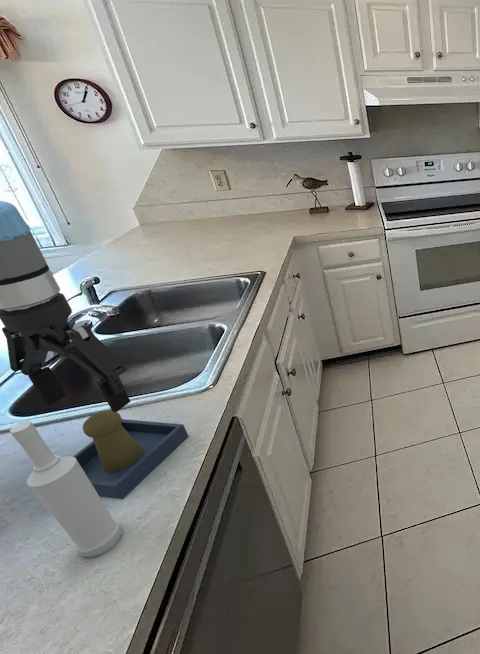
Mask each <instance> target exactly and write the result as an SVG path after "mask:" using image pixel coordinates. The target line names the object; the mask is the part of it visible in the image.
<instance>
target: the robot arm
mask: <svg viewBox="0 0 480 654" xmlns="http://www.w3.org/2000/svg"><path fill="white" fill-rule="evenodd" d="M33 235H34V234H32V231H31V227H30V225H29V224H28V223H27V222H26V220H25V219H24V217H23V216H22V214H21V213H20V211H19V210H18V208H17V207H16V205H14V204H13V203H11V202H8V201H4V200H0V321H1V323H2V324H3V326H4V327H2V328H1V331H2V333H3V335H4V337H5V338H6V345H7V354H8V359H9V360H8V361H9V367H10V369H11V371H13V372H14V373H15V372H19V371H20V372H21V373H22V375H24V376H28V378H29V380H30V382H31V383H32V384H33V385H32V386H34V388H35V390H36V391H37V393H38V394H39V396H40V398H41V399H42V400H43V402H44V404H45V405H46V406H48V407H49V406H50V407H51V406H52V405H53V404H55V403H57V402H58V401H60V400H61V399H63V398H65V397H67V394H66V392H65V390H64V389H63V387H62V386H61V384H60V382H59V381H58V379H57V377H56V376H55V374H54V373H53V371H52V369H51V367H50V366H47V365H49V363H48V362H47V361H46V360H47V356H48V353H49V352H51V353H56V354H58V355H59V356H61V357H62V358H69V359H71V360H72V361H73V362H74V363H76V364H77V365H79V366H80V367H81V368H83V369H84V370H85V371H86V372H88V373H90V374H91V375H92V376H94V377H95V378H96V379H98V381H96V385H97V386H98V388H99V390H100V392H101V393H102V396H103V397H104V399H105V400H106V402H107V405H108V406H109V408H110V410H112V412H119V411H120V410H122V409H123V408H124V407H125V406H127V405H128V404H130V403H131V402H132V400H131V399H130V397H129V395H128V393H127V391H126V389H125V386H124V384H123V382H122V380H121V378H120V376H121V375H123V374H124V373H125V372H127V371H128V368H127V366H126V365H125V364H123V362H122V361H121V360H120V359H119V358H118V357H117V356H116V355H115V354H114V353H113V352H112V351H111V350H110V349H109V348H108V347H107V346H106V345H105V344H104V343H103V342H102V341H101V340H100V339H99V338H98V337H97V336H96V335H95V333H94V331H93V330H92V328H91V327H90V326H89V325H88V324H82V325H80V326H79V327H74V326H72V325H71V324H70V322H69V318H70V316H71V315H72V313H73V309H72V308H71V306H70V304H69V301H68V300H67V298H66V295H65V294H63V293H62V292H60V291H61V288H60V286H59V284H58V282H57V280H56V279H55V277H54V272H53V271H51V269H50V266H49V265H48V263H47V260H46V258H45V256H44V255H43V252H42V251H41V249H40V247H39V245H38V243H37V241H36V239H35V237H34V236H33Z"/></svg>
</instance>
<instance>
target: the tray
mask: <svg viewBox="0 0 480 654" xmlns="http://www.w3.org/2000/svg"><path fill="white" fill-rule="evenodd" d="M121 419H122V422H121V425H122V426H123V427H124V429H125V430H126V431H127V432H128V433H129V434H130V435H131V436H132V438H133V439H134V440H135V441H136V442H137V443H138V444H139V446H140V447H141V448H142V450H143V454H142V455H141V457H140V458H139V459H138V460H137V461H136V462H135V463H133V464H132V465H130V466H129V467H127V468H125V469H122V470H120V471H116V472H106V471H104V469H103V466H102V463H101V460H100V458H99V455H98V452H97V449H96V446H95V443H94V440H92V441H91V442H90V443H88V444H87V445H86V446H85V447H83V448H82V449H81V450H79V451H78V452H77V453H75V454H74V455H73V456H72V457H75V458H76V459H77V461H78V463H79V464H80V466H81V467H82V469H83V471H84V472H85V474H86V476H87V477H88V479H89V480H90V482H91V484H92V485H93V487H94V489H95V490H96V492H97V493H98V495H99V497H103V498H111V499H119V500H123V499H124V498H125V497H127V496H128V494H130V493H131V492H132V491H133V490H134V489H135V488H136V487H137V486H138V485H140V483H141V482H142V481H143V480H144V479H145V478H146V477H147V476H148V475H150V474H151V473H152V472H153V471H154V470H155V469H156V468H157V467H158V466H159V465H161V463H162V462H163V461H165V459H166V458H167V457H169V455H170V454H172V453H173V452H174V451H175V450H176V449H177V448H178V447H179V446H180V445H181V444H182V443H183V442H184V441H185V440H186V439H187V438H188V437H189V433H188V431H187V430H186V427H185V425H184V424H183V423H172V422H171V423H169V422H161V421H160V422H159V421H147V420H139V419H138V420H137V419H136V420H135V419H125V418H121Z"/></svg>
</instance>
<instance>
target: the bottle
mask: <svg viewBox="0 0 480 654" xmlns="http://www.w3.org/2000/svg"><path fill="white" fill-rule="evenodd" d="M9 433H10V434H11V436H12V438H14V440H15V442H16V443H18V444H19V445H20V447H21V449H23V451H24V452H25V454H26V455H27V456H28V458H29V460H30V461H31V462H32V464H33V468H32V470H33V471H32V472H31V473H30V475H29V476H28V478H27V479H26V485H27V487H28V488H29V489H30V491H32V493H33V494H34V495H35V496H36V498H37V499H38V500H39V501H40V503H41V504H42V505H43V506H44V507H45V508H46V510H47V511H48V512H49V513H50V515H51V516H52V517H53V518H54V520H55V521H56V522H57V523H58V524H59V526H61V528H62V529H63V530H64V531H65V532H66V534H67V535H68V536H69V537H70V539H71V540H72V542H74V544H75V546H76V547H75V548H76V550H77V552H78V553H79V554H80V555H82V556H84V557H85V558H95V557H98V556H100V555H103V554H104V553H106V552H108V551H109V550H111V549H112V548H113V547H114V546H115V545H116V544H117V543H118V542H119V540H120V539H121V537H122V534H123V531H122V526H121V524H120V522H119V521H118V520H115V519H114V518H113V516H112V515H111V513H110V511H109V509H108V508H107V507H106V505H105V503H104V502H103V500H102V499H101V496H99V495H98V493H97V492H96V490H95V489H94V487H93V485H92V484H91V482H90V480H89V479H88V477H87V476H86V474H85V472H84V471H83V469H82V467H81V466H80V464H79V463H78V461H77V459H76V458H75V457H73V456H72V455H67V456H60V455H58V454H54V453H53V452H52V450H51V449H50V448H49V446H48V445H47V443H46V442H45V440H44V439H43V437H42V436H41V435H40V433H39V431H38V429H37V428H36V427H35V425H34V424H33V422H32V421H31V420H27V421H22V422H20V423H18V424H15V425H13V426H12V427H11V428H10V429H9Z"/></svg>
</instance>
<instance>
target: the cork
mask: <svg viewBox="0 0 480 654" xmlns="http://www.w3.org/2000/svg"><path fill="white" fill-rule="evenodd" d="M122 419H123V418H122V416H121V414H120V413H119V411H117V412H112V410H111V409H106V410H102V411H99V412H96V413H94V414H92V415H91V416H90V417H88V418H86V419H85V421H84V422H83V425H82V430H83V433H84V435H86V436H87V437H89V438H91V439H92V441H94V443H95V446H96V449H97V452H98V455H99V458H100V460H101V463H102V466H103V469H104V471H106V472H116V471H120V470H122V469H125V468H127V467H129V466H130V465H132V464H133V463H135V462H136V461H137V460H138V459H139V458H140V457H141V455H142V454H143V450H142V448H141V447H140V446H139V444H138V443H137V442H136V441H135V440H134V439H133V438H132V436H131V435H130V434H129V433H128V432H127V431H126V430H125V429H124V427H123V426H122V425H121V422H122Z"/></svg>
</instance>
